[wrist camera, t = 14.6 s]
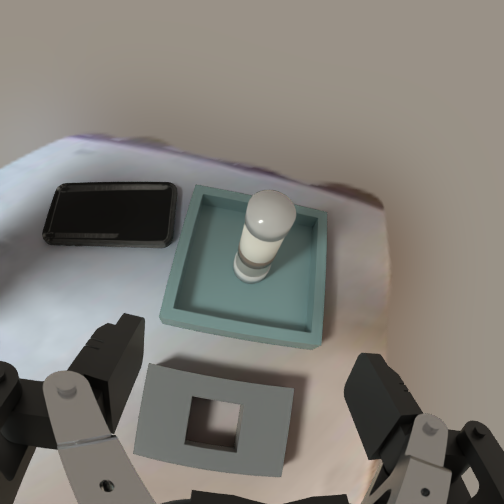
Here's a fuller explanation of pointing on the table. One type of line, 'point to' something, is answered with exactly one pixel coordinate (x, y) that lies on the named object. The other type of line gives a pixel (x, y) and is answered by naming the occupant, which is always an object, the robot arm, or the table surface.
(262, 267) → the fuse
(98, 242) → the phone
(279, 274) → the parts tray
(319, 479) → the table surface
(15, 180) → the table surface
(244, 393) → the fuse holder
